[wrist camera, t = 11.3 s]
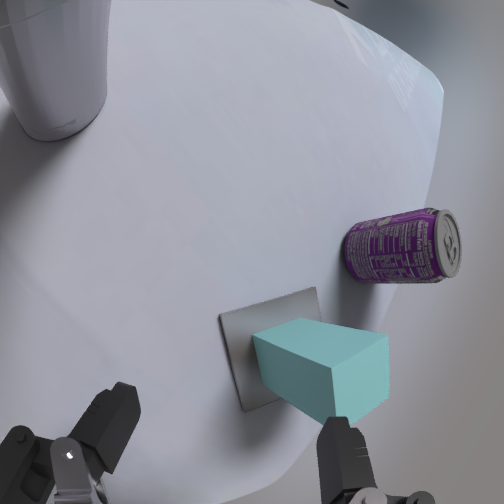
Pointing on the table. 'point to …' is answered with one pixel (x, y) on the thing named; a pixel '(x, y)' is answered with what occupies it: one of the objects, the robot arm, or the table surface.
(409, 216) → the beverage can
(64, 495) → the robot arm
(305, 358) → the tall teal block
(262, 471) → the table surface
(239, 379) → the post
